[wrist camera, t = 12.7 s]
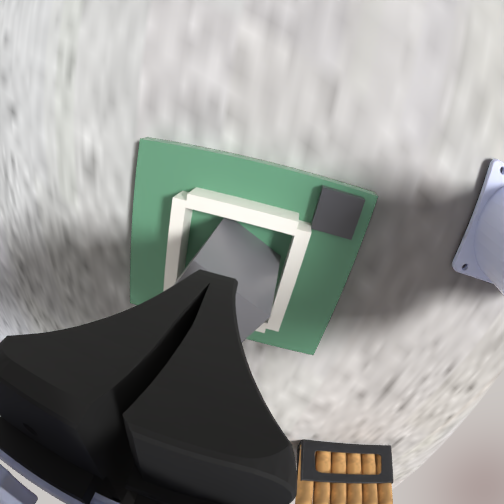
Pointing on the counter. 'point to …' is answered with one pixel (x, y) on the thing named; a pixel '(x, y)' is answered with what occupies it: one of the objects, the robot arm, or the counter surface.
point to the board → (254, 220)
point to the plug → (241, 271)
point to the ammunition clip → (343, 473)
